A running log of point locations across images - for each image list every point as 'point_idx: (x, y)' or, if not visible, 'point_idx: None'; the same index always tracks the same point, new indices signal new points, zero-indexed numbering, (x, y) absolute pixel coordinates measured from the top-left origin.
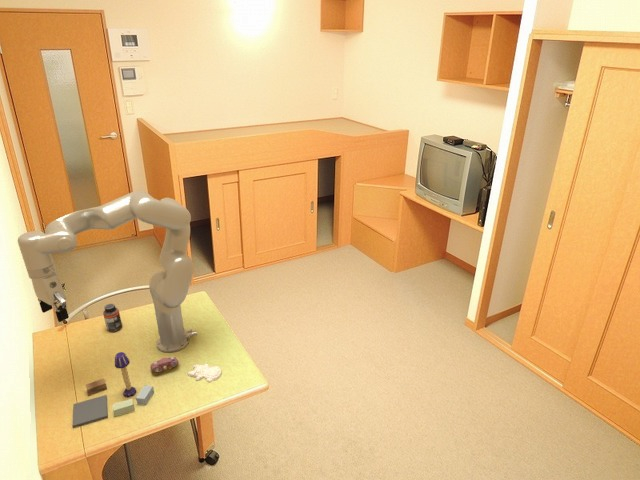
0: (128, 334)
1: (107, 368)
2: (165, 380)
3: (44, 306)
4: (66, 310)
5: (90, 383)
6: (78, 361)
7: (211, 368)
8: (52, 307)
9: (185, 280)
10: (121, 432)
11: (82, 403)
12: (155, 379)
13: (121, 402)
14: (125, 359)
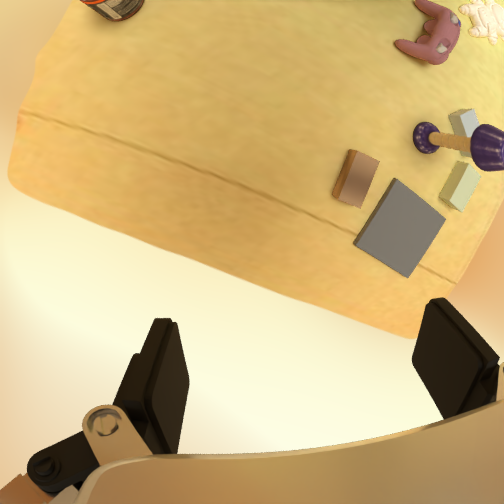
0: None
1: (291, 105)
2: (451, 66)
3: (179, 409)
4: (480, 339)
5: (346, 187)
6: (183, 142)
7: (502, 14)
8: (169, 321)
9: None
10: (482, 223)
11: (372, 231)
12: (433, 72)
13: (460, 185)
14: None
